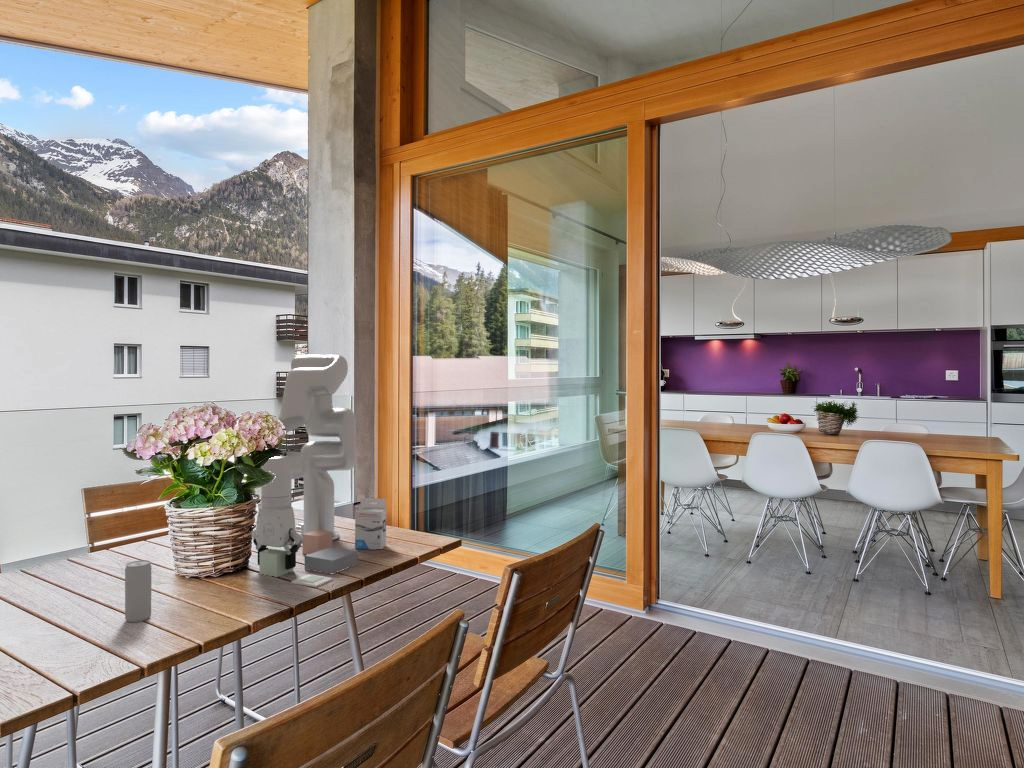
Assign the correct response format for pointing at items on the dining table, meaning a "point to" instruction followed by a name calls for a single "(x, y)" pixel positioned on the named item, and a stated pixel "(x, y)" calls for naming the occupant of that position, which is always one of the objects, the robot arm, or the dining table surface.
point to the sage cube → (273, 562)
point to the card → (311, 580)
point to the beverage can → (138, 591)
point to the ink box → (370, 524)
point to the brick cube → (316, 541)
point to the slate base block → (331, 559)
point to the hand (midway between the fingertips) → (276, 565)
